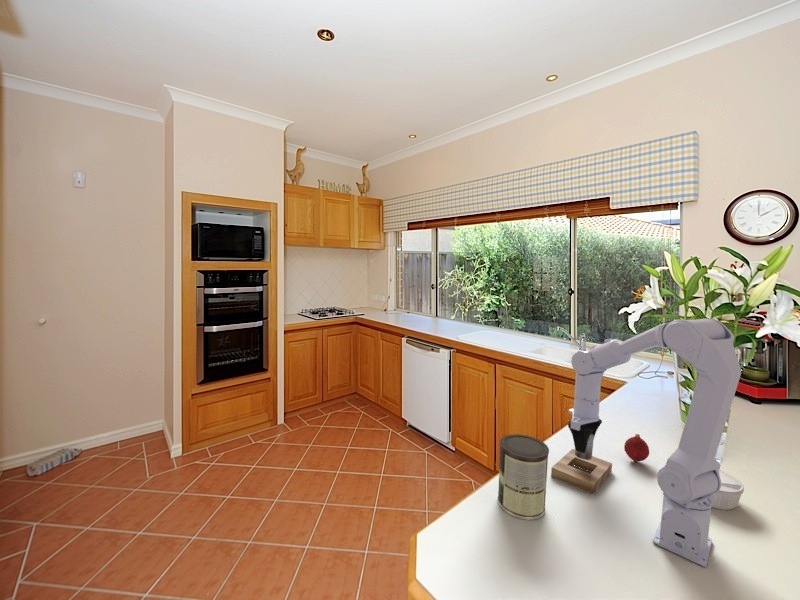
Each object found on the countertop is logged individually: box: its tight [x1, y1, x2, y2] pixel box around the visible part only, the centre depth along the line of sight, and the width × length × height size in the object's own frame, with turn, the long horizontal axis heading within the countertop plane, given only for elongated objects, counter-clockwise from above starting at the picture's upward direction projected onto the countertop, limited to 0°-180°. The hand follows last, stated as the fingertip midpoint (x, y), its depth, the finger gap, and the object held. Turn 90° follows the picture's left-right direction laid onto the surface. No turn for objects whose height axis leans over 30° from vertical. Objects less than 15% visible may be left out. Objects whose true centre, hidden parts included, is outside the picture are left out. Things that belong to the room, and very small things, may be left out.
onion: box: [623, 433, 650, 463], centre depth 98 cm, size 6×6×8 cm
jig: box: [550, 448, 613, 496], centre depth 92 cm, size 14×10×2 cm
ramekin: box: [711, 469, 745, 511], centre depth 83 cm, size 11×11×5 cm
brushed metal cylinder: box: [575, 433, 595, 460], centre depth 91 cm, size 4×4×6 cm
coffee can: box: [497, 433, 550, 521], centre depth 79 cm, size 10×10×14 cm
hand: (583, 448), depth 91 cm, fingers closed on brushed metal cylinder, 4 cm apart
